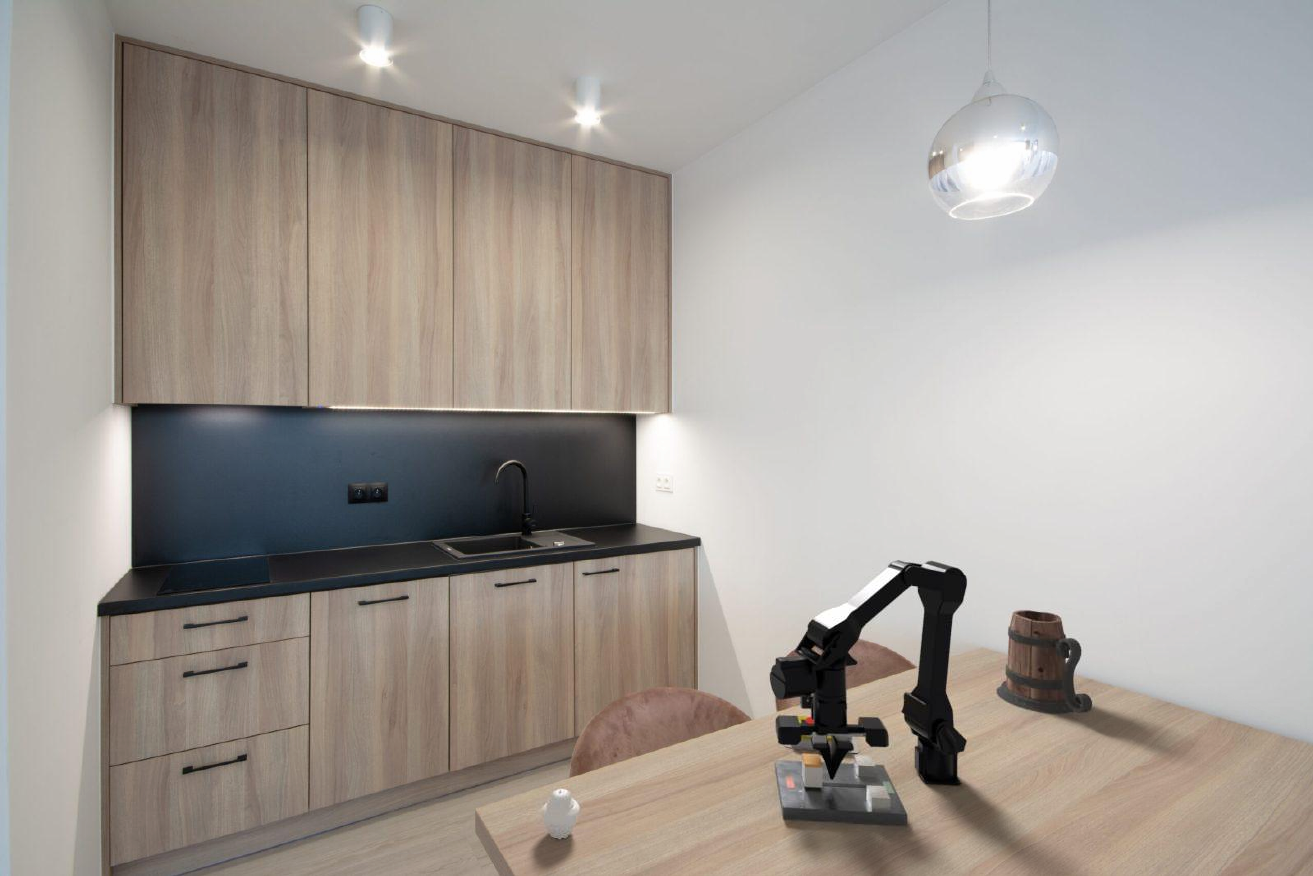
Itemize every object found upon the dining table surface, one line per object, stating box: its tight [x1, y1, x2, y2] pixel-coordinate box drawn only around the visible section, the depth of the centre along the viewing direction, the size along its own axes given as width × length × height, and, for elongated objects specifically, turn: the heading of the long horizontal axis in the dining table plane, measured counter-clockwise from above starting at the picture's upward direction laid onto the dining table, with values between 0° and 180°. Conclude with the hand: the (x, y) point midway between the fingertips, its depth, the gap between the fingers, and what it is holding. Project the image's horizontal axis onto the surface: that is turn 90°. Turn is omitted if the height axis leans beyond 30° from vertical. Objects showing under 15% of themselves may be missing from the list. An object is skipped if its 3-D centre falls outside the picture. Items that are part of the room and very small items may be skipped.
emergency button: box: [783, 714, 860, 754], centre depth 132 cm, size 9×4×15 cm
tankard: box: [995, 609, 1093, 715], centre depth 148 cm, size 24×17×20 cm
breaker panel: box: [774, 754, 908, 827], centre depth 112 cm, size 20×15×4 cm
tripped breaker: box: [801, 753, 823, 788], centre depth 112 cm, size 3×4×4 cm
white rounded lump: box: [540, 788, 581, 840], centre depth 102 cm, size 6×6×7 cm
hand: (831, 778), depth 112 cm, fingers closed
